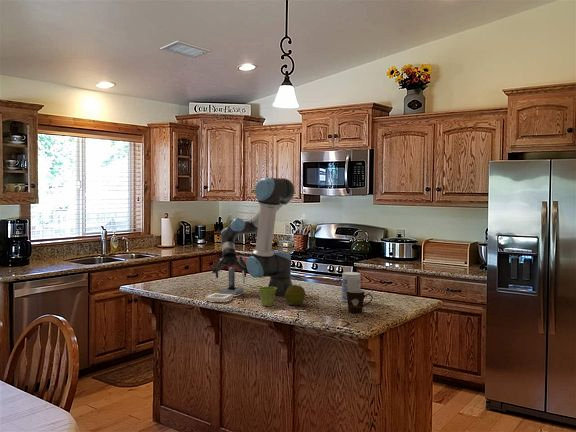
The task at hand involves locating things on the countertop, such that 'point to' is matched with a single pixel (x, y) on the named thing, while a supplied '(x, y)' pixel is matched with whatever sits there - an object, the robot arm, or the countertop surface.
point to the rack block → (219, 297)
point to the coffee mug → (356, 300)
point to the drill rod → (231, 278)
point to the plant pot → (267, 295)
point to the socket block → (228, 291)
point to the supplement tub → (350, 283)
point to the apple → (295, 295)
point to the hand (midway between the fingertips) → (231, 281)
